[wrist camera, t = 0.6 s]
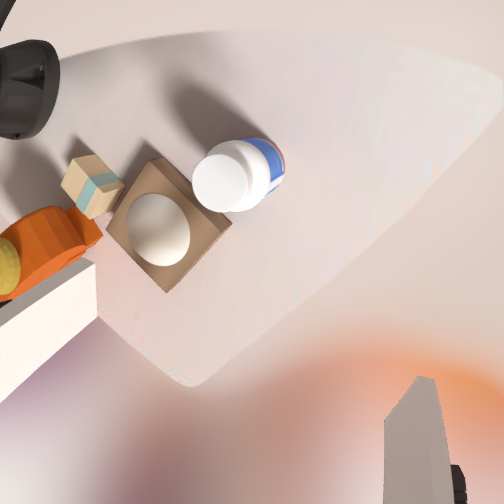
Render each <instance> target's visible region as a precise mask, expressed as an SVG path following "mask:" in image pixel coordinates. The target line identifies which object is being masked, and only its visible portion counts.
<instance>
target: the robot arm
mask: <svg viewBox="0 0 504 504" xmlns="http://www.w3.org/2000/svg"><path fill="white" fill-rule="evenodd" d="M15 1H16V0H0V31H1V28H2V26H3V24H4V22H5V20H6V18H7V16H8V14H9V12H10V11H11V9H12V7H13V5H14V3H15ZM59 78H60V68H59V60H58V56H57V53H56V51H55V49H54V47H53V46H52V45H51V44H50V43H49V42H47V41H42V40H26V41H23V42H19V43H16V44H12V45H9V46H6V47H3V48H0V137H3V138H7V139H11V140H21V139H27V138H31V137H33V136H35V135H36V134H38V133H39V132H40V131H41V130H42V128H43V127H44V126H45V124H46V123H47V121H48V119H49V117H50V115H51V113H52V110H53V108H54V105H55V101H56V98H57V93H58V88H59ZM96 317H97V301H96V278H95V263H94V262H91V261H89V260H87V259H85V258H83V257H82V258H80V259H78V260H77V261H75V262H73V263H71V264H70V265H68V266H66V267H65V268H63V269H61V270H60V271H58V272H57V273H55V274H53V275H52V276H50V277H48V278H47V279H45V280H44V281H42V282H40V283H39V284H37V285H36V286H34V287H32V288H31V289H29V290H28V291H26V292H25V293H23V294H21V295H20V296H18V297H17V298H15V299H14V300H12V299H9V300H6V301H3V302H0V403H1V401H3V400H4V399H5V398H6V397H7V396H8V395H9V394H10V393H11V392H12V391H13V390H15V389H16V388H17V387H18V386H19V385H20V384H21V383H22V382H23V381H24V380H25V379H27V377H29V376H30V375H31V374H32V373H33V372H34V371H35V370H36V369H38V368H39V367H40V366H41V365H42V364H43V363H44V362H45V361H47V360H48V359H49V358H50V357H51V356H52V355H53V354H54V353H56V352H57V351H58V350H59V349H60V348H61V347H62V346H64V345H65V344H66V343H67V342H68V341H69V340H70V339H71V338H73V337H74V336H75V335H76V334H77V333H78V332H80V331H81V330H82V329H83V328H84V327H86V326H87V325H88V324H89V323H90V322H91V321H93V320H94V319H95V318H96ZM384 445H385V446H384V449H385V450H384V453H385V454H384V492H383V504H467V493H466V483H465V477H464V475H463V473H462V471H461V469H460V467H459V465H450V459H449V452H448V445H447V439H446V433H445V427H444V422H443V417H442V411H441V406H440V402H439V397H438V393H437V388H436V384H435V380H434V379H431V378H426V377H422V376H418V377H417V378H416V379H415V381H414V382H413V384H412V385H411V386H410V388H409V389H408V391H407V392H406V393H405V394H404V396H403V397H402V398H401V400H400V401H399V403H398V404H397V405H396V406H395V408H394V409H393V410H392V411H391V413H390V414H389V415H388V416H387V418H386V419H385V420H384Z"/></svg>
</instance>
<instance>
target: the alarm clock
mask: <svg viewBox="0 0 504 504" xmlns="http://www.w3.org/2000/svg"><path fill="white" fill-rule="evenodd" d="M102 236H103V234H102V233H101V231H100V229H99V228H98V226H97V225H96V223H95V222H94V220H93V218H92V219H90V220H89V219H88V218H87V216H86V215H85V214H83V213H82V212H81V211H80V210H79V208H78V207H77V206H74V207H72V208H71V209H69V210H67V211H65V212H64V211H63V210H62V209H61V208H60V207H56V206H50V207H46V208H42V209H39V210H37V211H35V212H32V213H30V214H28V215H26V216H24V217H23V218H21V219H20V220H18V221H17V222H15V223H14V224H12V225H11V226H9V227H8V228H7V229H6V230H5V231H4V232H3V233H1V234H0V301H1V302H3V301H6V300H9V299H12V300H14V299H15V298H17V297H18V296H20V295H21V294H23V293H25V292H26V291H28V290H29V289H31V288H32V287H34V286H36V285H37V284H39V283H40V282H42V281H44V280H45V279H47V278H48V277H50V276H52V275H53V274H55V273H57V272H58V271H60V270H61V269H63V268H65V267H66V266H68V265H70V264H71V263H73V262H75V261H77V260H78V259H79V258H80V257H81V256H82V255H83V254H84V253H85V252H86V251H85V250H87V249H88V248H90V247H91V246H93V245H94V244H95V243H97V241H98V240H99V239H100V238H101V237H102Z"/></svg>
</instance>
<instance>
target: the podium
mask: <svg viewBox="0 0 504 504" xmlns="http://www.w3.org/2000/svg"><path fill="white" fill-rule="evenodd" d="M231 225H232V223H231V222H230V221H229V220H228V219H227V218H226V217H225V216H224V215H223V214H222V213H221V212H215V211H212V210H209V209H207V208H206V207H204V206H203V205H202V204H201V203H200V202H199V201H198V199H197V198H196V196H195V194H194V191H193V187H192V184H191V183H190V182H189V181H188V180H187V179H186V178H185V177H184V176H183V175H182V174H181V173H180V172H179V171H178V170H177V169H176V168H175V167H174V166H173V165H172V164H171V163H170V162H169V161H168V160H167V159H166V158H165V157H163V158H158V159H153V160H149V161H148V162H147V164H146V165H145V167H144V168H143V170H142V171H141V173H140V174H139V176H138V177H137V179H136V180H135V182H134V183H133V185H132V186H131V188H130V190H129V191H128V193H127V194H126V196H125V198H124V199H123V201H122V202H121V204H120V206H119V207H118V209H117V211H116V212H115V214H114V216H113V217H112V219H111V221H110V222H109V224H108V226H107V228H106V229H105V230H106V231H107V232H108V233H109V234H110V235H111V236H112V237H113V238H114V240H115V241H116V242H117V243H118V244H119V245H120V246H121V247H122V248H123V249H124V250H125V251H126V252H127V253H128V255H129V256H130V257H131V258H132V259H133V260H134V261H135V262H136V263H137V264H138V265H139V266H140V267H141V268H142V269H143V270H144V271H145V272H146V273H147V274H148V275H149V276H150V277H151V278H152V279H153V280H154V281H155V283H156V284H157V285H158V286H159V287H160V288H161V289H162V290H163V291H164V292H165V293H168V292H169V291H170V290H171V289H172V288H173V287H174V286H175V285H176V284H177V283H178V282H179V281H180V280H181V279H182V278H183V277H184V276H185V275H186V274H187V273H188V271H189V270H190V269H191V268H192V267H193V266H194V265H195V264H196V263H197V262H198V261H199V259H200V258H201V257H202V256H203V255H204V254H205V253H206V252H207V251H208V250H209V249H210V247H211V246H212V245H213V244H214V243H215V242H216V241H217V240H218V239H219V238H220V237H221V236H222V234H223V233H224V232H225V231H226V230H227V229H228V228H229V227H230V226H231Z"/></svg>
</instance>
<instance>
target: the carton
mask: <svg viewBox="0 0 504 504" xmlns="http://www.w3.org/2000/svg"><path fill="white" fill-rule="evenodd" d="M61 187H62V188H63V189H64V190H65V191H66V193H67V194H68V195H69V196H70V197H71V199H72V200H73V201H74V202H75V203H76V206H77V207H78V208H79V210H80V211H81V212H82V213H83V214H85V215H86V216H87V218H88V219H89V220H90V219H92V218H94V217H97V216H99V215H102V214H104V213H106V212H109V211H111V210H112V208H113V206H114V205H115V203H116V201H117V200H118V198H119V196H120V195H121V193H122V191H123V190H124V188H125V185H124V184H123V183H122V182H121V181H120V179H119V178H118V177H117V176H116V175H115V174H114V173H113V172H112V171H111V170H110V169H109V168H108V167H107V166H106V165H105V164H104V163H103V162H102V161H101V159H100V158H99V157H98V156H97V155H96V154H94V155H88V156H83V157H78V158H73V159H72V161H71V163H70V165H69V167H68V169H67V172H66V174H65V176H64V178H63V181H62V183H61Z"/></svg>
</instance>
